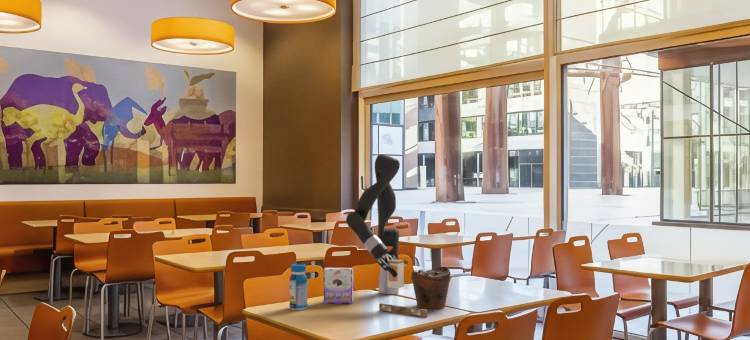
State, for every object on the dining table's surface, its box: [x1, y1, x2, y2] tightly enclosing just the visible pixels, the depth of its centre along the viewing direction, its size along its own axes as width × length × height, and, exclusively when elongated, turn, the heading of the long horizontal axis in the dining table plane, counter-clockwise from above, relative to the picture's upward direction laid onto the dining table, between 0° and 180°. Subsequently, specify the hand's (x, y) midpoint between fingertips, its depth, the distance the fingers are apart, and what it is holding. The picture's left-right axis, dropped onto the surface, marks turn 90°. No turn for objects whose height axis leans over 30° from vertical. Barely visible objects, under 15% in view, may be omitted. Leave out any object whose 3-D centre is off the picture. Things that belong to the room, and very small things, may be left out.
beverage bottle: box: [288, 263, 309, 311], centre depth 294 cm, size 8×8×20 cm
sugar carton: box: [387, 259, 405, 289], centre depth 293 cm, size 6×6×12 cm
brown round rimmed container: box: [410, 266, 451, 310], centre depth 299 cm, size 18×20×18 cm
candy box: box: [323, 267, 354, 305], centre depth 308 cm, size 14×6×16 cm, turn 84°
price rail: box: [378, 303, 429, 318], centre depth 283 cm, size 24×2×3 cm, turn 56°
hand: (399, 275), depth 293 cm, fingers closed on sugar carton, 5 cm apart
